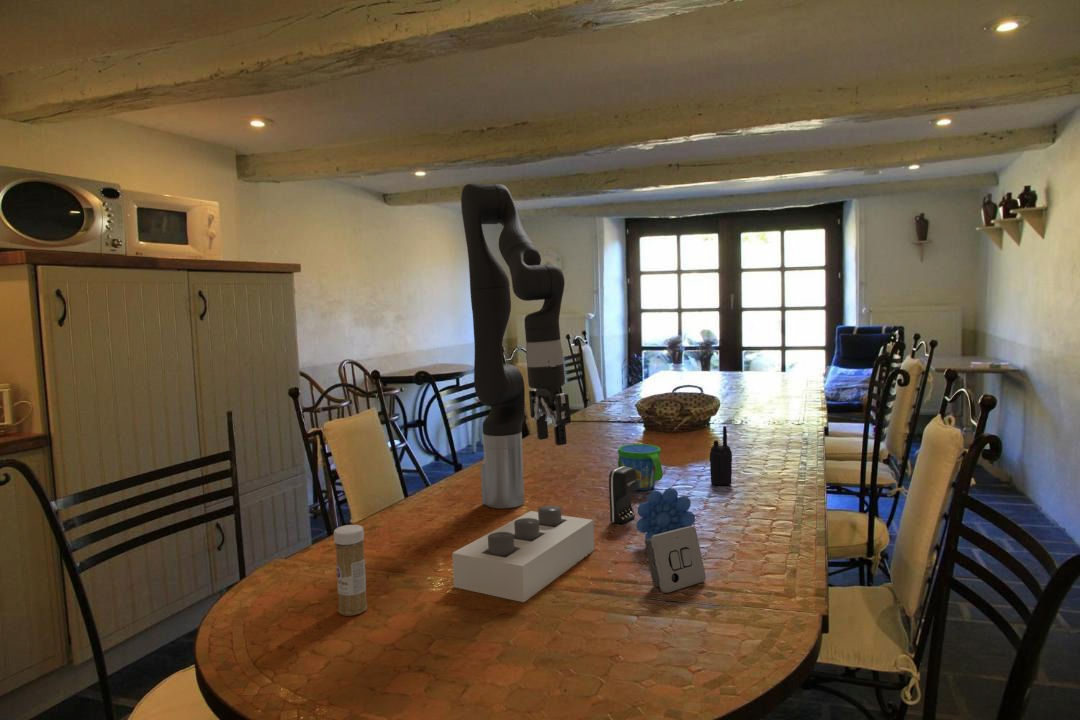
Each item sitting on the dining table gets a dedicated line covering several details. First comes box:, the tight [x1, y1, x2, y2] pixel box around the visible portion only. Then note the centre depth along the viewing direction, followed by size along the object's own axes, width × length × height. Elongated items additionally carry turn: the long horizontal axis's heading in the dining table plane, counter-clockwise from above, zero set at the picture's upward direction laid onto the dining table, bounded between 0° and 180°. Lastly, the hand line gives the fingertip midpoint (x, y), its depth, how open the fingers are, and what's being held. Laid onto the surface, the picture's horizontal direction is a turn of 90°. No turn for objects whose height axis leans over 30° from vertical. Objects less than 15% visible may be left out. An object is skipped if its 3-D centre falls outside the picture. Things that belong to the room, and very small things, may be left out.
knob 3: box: [537, 505, 562, 527], centre depth 135 cm, size 4×4×5 cm
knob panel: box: [451, 510, 595, 603], centre depth 128 cm, size 14×26×6 cm, turn 150°
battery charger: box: [608, 466, 638, 524], centre depth 154 cm, size 7×4×11 cm, turn 144°
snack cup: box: [617, 443, 664, 491], centre depth 180 cm, size 16×10×10 cm
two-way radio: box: [709, 425, 733, 486], centre depth 179 cm, size 6×4×15 cm
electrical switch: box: [644, 525, 707, 594], centre depth 119 cm, size 9×5×9 cm, turn 121°
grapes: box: [636, 487, 696, 541], centre depth 136 cm, size 12×7×12 cm, turn 61°
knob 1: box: [488, 532, 514, 558], centre depth 121 cm, size 4×4×5 cm
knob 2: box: [514, 518, 539, 542], centre depth 128 cm, size 4×4×5 cm
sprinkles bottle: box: [333, 524, 368, 617], centre depth 112 cm, size 5×5×14 cm
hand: (551, 441), depth 146 cm, fingers open, 8 cm apart
